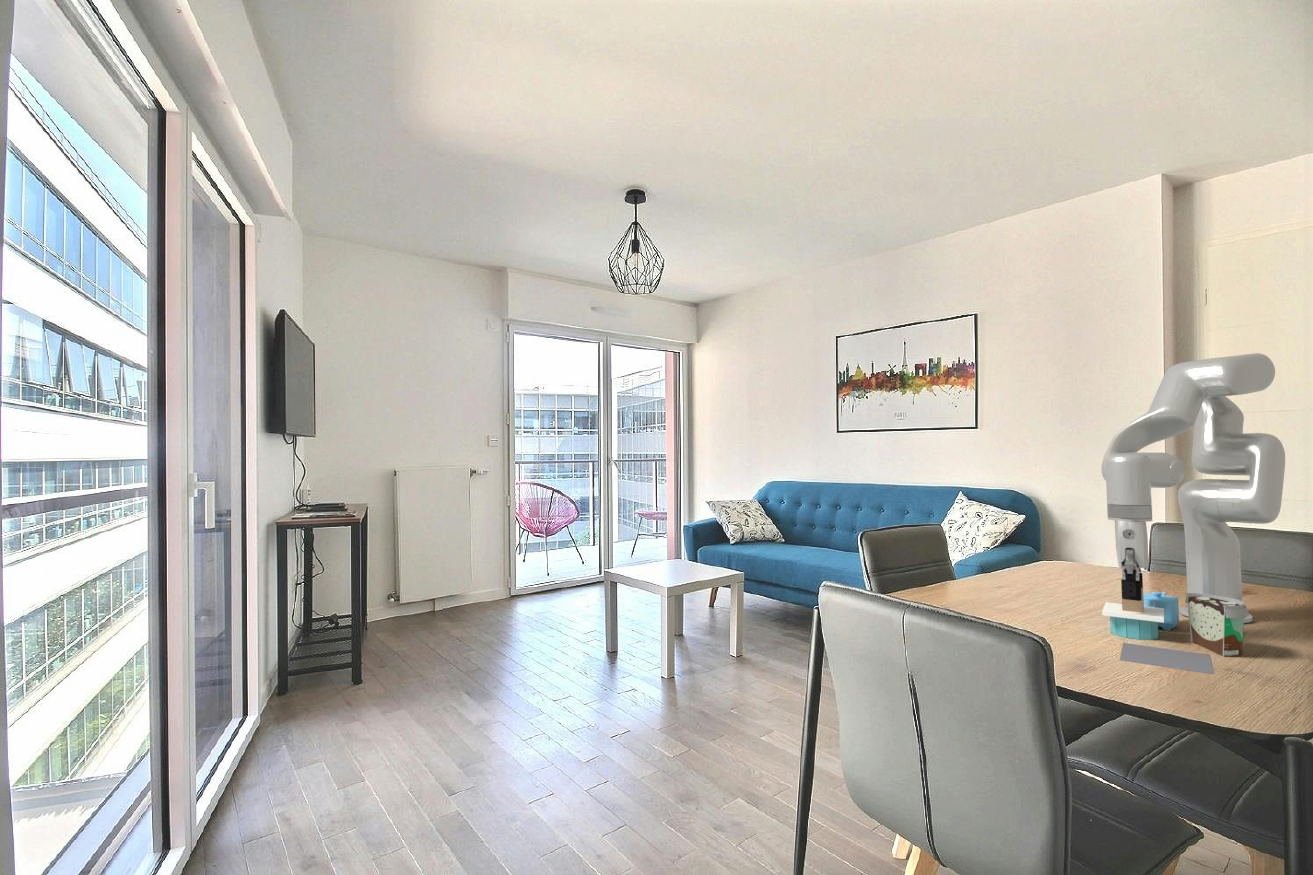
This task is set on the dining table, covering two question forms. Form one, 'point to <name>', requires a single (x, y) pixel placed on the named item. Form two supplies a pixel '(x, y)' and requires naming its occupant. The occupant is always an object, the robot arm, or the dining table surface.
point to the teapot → (1169, 608)
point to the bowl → (1134, 628)
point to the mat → (1167, 658)
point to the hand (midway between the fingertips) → (1132, 595)
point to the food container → (1217, 623)
